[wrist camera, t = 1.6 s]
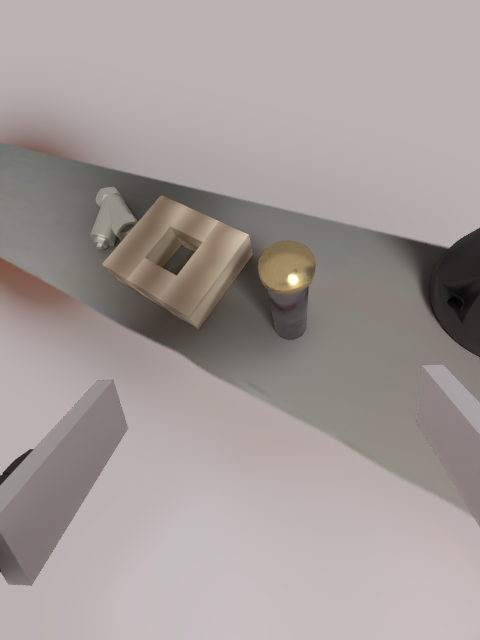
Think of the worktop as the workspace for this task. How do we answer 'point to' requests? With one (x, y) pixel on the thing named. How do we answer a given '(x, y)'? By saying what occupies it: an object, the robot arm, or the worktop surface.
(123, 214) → the pipe fitting
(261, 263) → the gold-capped peg
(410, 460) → the worktop surface
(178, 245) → the socket block
